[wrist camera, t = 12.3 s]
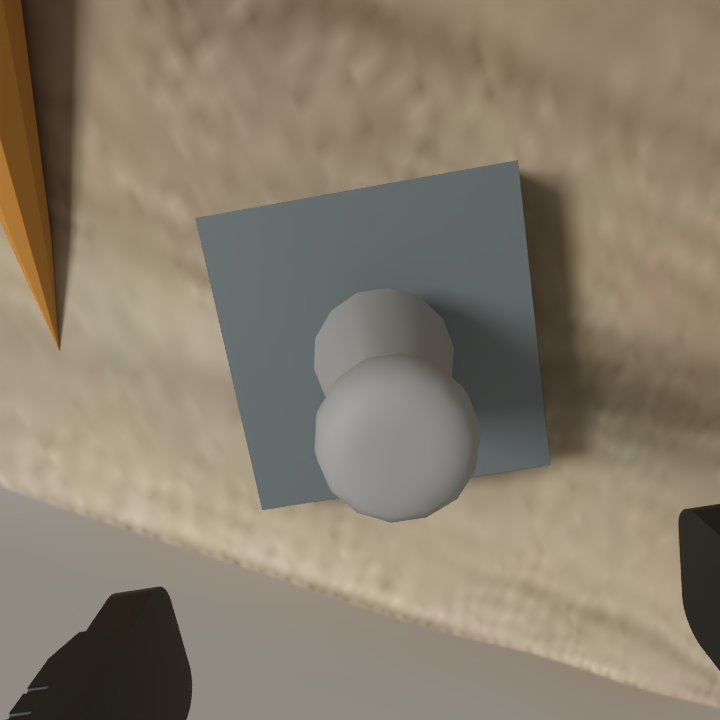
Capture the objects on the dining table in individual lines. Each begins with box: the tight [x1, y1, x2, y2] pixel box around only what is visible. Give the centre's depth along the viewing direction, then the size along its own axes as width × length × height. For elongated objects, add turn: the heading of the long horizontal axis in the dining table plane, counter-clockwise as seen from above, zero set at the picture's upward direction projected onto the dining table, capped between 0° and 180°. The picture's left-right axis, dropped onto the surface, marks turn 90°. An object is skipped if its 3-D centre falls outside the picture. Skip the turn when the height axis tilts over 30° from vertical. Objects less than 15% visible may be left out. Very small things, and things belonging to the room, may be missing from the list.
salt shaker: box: [314, 288, 480, 523], centre depth 21 cm, size 6×6×13 cm
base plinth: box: [196, 160, 550, 510], centre depth 28 cm, size 14×14×3 cm
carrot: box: [0, 0, 59, 349], centre depth 27 cm, size 20×4×4 cm, turn 5°
